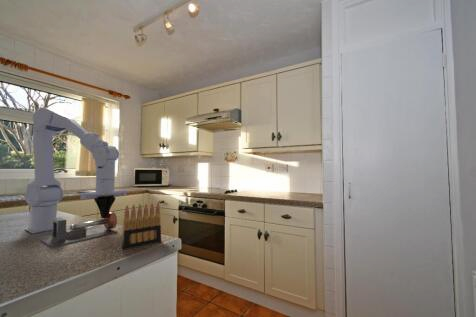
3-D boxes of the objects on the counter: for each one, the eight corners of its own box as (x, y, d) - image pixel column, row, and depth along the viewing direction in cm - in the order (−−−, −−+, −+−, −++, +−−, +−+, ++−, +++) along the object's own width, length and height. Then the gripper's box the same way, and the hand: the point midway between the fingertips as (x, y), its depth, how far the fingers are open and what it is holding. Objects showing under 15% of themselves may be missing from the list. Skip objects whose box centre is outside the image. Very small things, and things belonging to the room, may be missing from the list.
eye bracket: (40, 241, 68) (41, 218, 69) (103, 228, 83) (103, 210, 83) (51, 247, 63) (52, 223, 63) (116, 232, 77) (117, 213, 78)
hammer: (65, 235, 72) (66, 217, 72) (110, 226, 83) (111, 210, 84) (72, 239, 68) (73, 219, 69) (118, 229, 80) (119, 212, 80)
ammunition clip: (123, 249, 62) (124, 206, 62) (121, 247, 63) (122, 205, 64) (161, 241, 68) (162, 202, 69) (159, 240, 70) (159, 201, 70)
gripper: (87, 180, 71) (85, 223, 70) (131, 178, 83) (130, 215, 82) (78, 179, 75) (77, 220, 75) (121, 178, 87) (120, 213, 86)
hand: (104, 217), depth 79 cm, fingers closed
